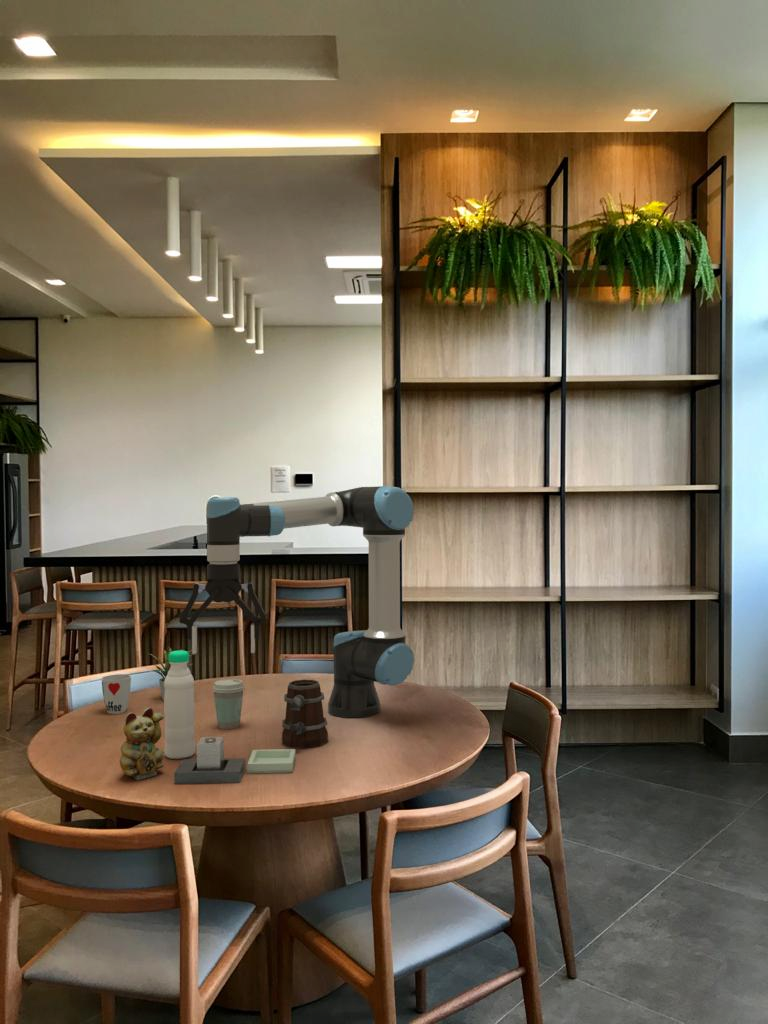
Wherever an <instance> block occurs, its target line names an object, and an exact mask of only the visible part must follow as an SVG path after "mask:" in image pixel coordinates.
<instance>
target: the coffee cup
mask: <svg viewBox="0 0 768 1024" xmlns="http://www.w3.org/2000/svg"><path fill="white" fill-rule="evenodd" d="M244 690H245V685H244V683H243V680H242V679H238V678H225V679H219V680H216V681H214V683H213V686H212V691H213V698H214V706H215V715H216V721H217V728H219V729H222V730H233V729H236V728H239V727H240V726H241V718H242V708H243V698H244V697H243V696H244Z"/></svg>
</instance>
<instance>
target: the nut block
mask: <svg viewBox="0 0 768 1024" xmlns="http://www.w3.org/2000/svg"><path fill="white" fill-rule="evenodd" d="M224 739H225V738H224V736H207V737H205V736H203V737H202V736H201V737H200V739H199V740H198V742H197V744H196V759H197V771H219V770H224V759H225V757H224V756H225V755H224V752H225V750H224V749H225V748H224V746H225V745H224V744H225V743H224Z"/></svg>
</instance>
